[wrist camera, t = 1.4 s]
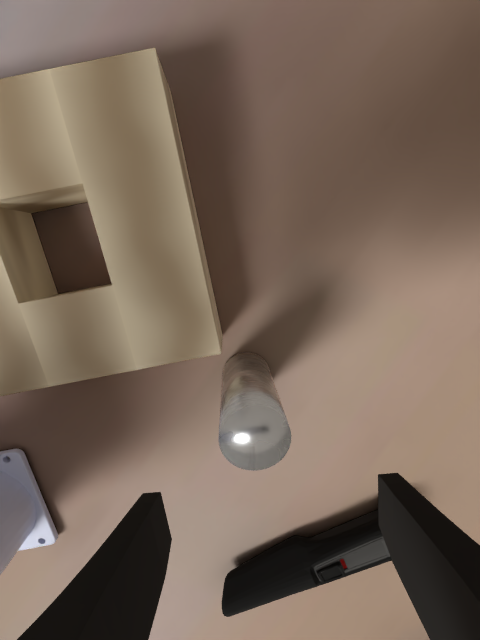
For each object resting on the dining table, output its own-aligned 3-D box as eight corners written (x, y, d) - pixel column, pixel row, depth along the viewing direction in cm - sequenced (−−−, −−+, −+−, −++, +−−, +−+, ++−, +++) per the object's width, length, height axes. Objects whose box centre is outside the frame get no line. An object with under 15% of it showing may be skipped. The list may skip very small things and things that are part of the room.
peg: (227, 400, 20) (226, 476, 13) (218, 357, 19) (212, 413, 13) (273, 391, 20) (296, 463, 13) (265, 348, 19) (285, 399, 13)
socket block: (12, 376, 19) (-35, 403, 16) (-81, 142, 16) (-165, 112, 13) (222, 335, 19) (221, 353, 16) (170, 91, 16) (154, 47, 12)
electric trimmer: (214, 554, 24) (211, 599, 21) (398, 486, 23) (424, 523, 20) (233, 586, 25) (233, 635, 21) (411, 522, 23) (438, 563, 20)
